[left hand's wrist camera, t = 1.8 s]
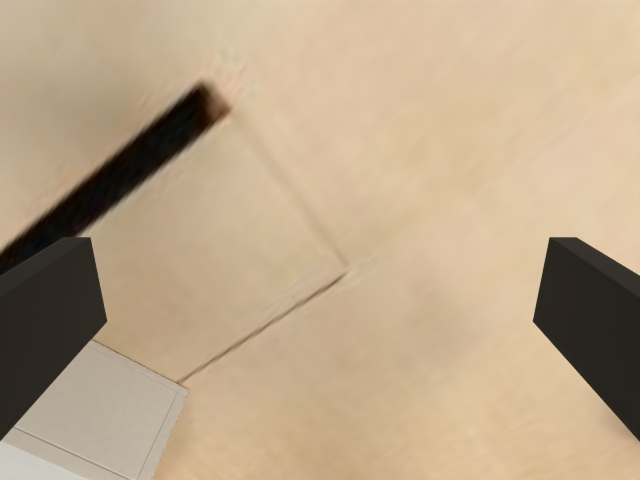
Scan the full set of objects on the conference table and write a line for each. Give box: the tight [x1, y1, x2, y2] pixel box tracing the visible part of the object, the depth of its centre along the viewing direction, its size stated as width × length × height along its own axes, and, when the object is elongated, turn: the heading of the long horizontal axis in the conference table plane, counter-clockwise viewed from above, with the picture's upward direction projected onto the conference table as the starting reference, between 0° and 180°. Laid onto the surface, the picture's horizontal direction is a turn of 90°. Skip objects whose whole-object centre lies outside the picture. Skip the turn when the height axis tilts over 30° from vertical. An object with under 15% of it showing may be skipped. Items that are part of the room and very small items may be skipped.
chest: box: [13, 340, 189, 480], centre depth 31 cm, size 16×10×9 cm, turn 146°
